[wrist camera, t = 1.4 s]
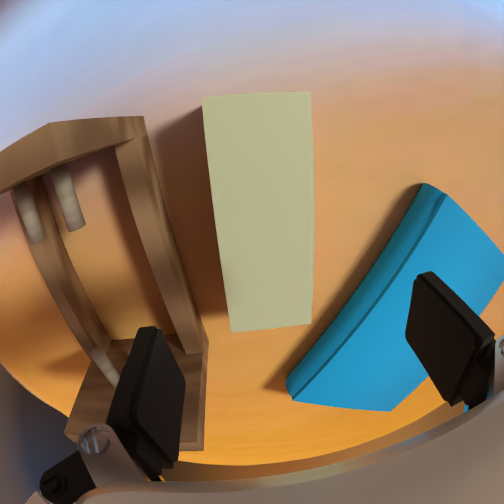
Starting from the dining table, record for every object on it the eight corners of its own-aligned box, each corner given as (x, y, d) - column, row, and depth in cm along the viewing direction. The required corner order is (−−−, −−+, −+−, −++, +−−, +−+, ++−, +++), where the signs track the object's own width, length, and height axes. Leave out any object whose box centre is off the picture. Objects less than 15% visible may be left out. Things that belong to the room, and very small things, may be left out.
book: (513, 264, 23) (392, 413, 32) (491, 248, 26) (382, 391, 35) (442, 189, 18) (288, 403, 27) (413, 176, 22) (282, 374, 31)
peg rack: (25, 164, 18) (-75, 212, 7) (143, 116, 18) (49, 122, 7) (106, 351, 28) (73, 441, 17) (208, 341, 27) (203, 450, 17)
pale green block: (208, 103, 18) (201, 98, 14) (292, 97, 19) (310, 91, 14) (230, 294, 26) (231, 332, 21) (298, 287, 26) (311, 323, 21)
